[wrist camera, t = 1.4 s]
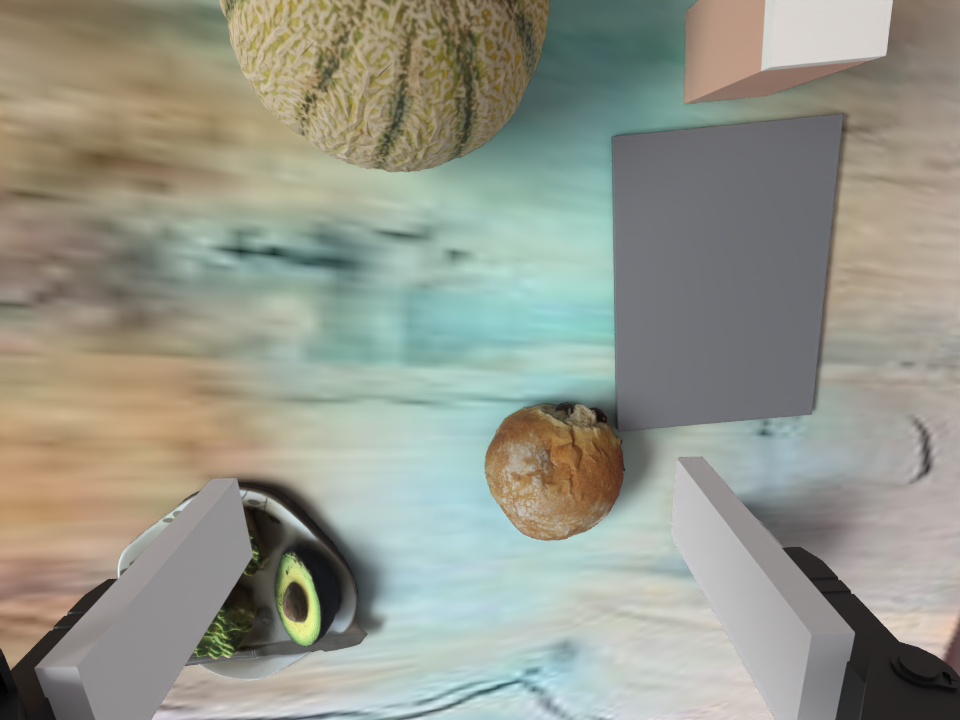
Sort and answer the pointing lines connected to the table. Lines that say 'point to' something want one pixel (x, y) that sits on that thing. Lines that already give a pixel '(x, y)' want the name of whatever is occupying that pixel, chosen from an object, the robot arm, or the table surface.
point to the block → (777, 44)
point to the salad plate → (273, 592)
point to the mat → (721, 269)
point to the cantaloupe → (389, 72)
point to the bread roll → (555, 469)
